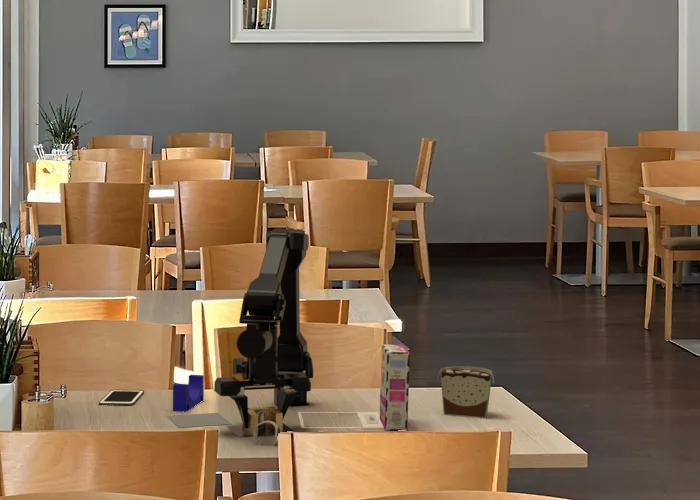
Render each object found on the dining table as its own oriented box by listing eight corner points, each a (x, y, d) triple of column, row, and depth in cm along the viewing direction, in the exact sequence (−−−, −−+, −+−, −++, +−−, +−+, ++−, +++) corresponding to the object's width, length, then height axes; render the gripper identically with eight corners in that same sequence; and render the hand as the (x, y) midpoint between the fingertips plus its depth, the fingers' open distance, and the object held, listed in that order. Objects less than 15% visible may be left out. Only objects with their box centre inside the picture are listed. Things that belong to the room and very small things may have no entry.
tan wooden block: (273, 425, 257) (273, 406, 256) (282, 432, 251) (282, 413, 250) (242, 427, 254) (242, 408, 254) (251, 435, 248) (251, 415, 248)
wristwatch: (277, 449, 240) (277, 423, 240) (252, 447, 241) (252, 422, 240) (280, 445, 243) (281, 420, 242) (255, 444, 244) (255, 418, 243)
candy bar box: (409, 432, 256) (410, 352, 254) (384, 432, 255) (386, 352, 254) (402, 419, 267) (403, 343, 265) (378, 419, 266) (380, 343, 265)
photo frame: (388, 426, 257) (301, 426, 256) (388, 432, 257) (301, 432, 256) (381, 411, 272) (298, 411, 270) (381, 416, 272) (297, 416, 270)
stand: (282, 425, 260) (282, 405, 259) (297, 436, 250) (297, 415, 250) (226, 428, 256) (226, 408, 255) (239, 440, 246) (239, 419, 246)
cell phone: (97, 407, 276) (97, 402, 276) (111, 393, 290) (111, 389, 290) (132, 407, 276) (132, 403, 276) (144, 394, 290) (144, 389, 290)
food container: (498, 413, 274) (500, 368, 273) (492, 419, 269) (494, 373, 268) (444, 408, 278) (445, 364, 277) (437, 414, 273) (438, 368, 272)
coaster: (218, 415, 268) (218, 412, 268) (231, 426, 257) (231, 423, 257) (167, 418, 264) (167, 415, 264) (178, 430, 254) (178, 427, 254)
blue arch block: (184, 400, 283) (184, 374, 283) (203, 401, 282) (203, 375, 282) (166, 411, 272) (166, 384, 271) (186, 412, 271) (186, 385, 270)
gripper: (295, 341, 262) (294, 415, 263) (207, 345, 255) (207, 421, 257) (312, 350, 251) (311, 427, 253) (221, 354, 245) (221, 433, 246)
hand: (262, 426), depth 252 cm, fingers closed on tan wooden block, 6 cm apart
